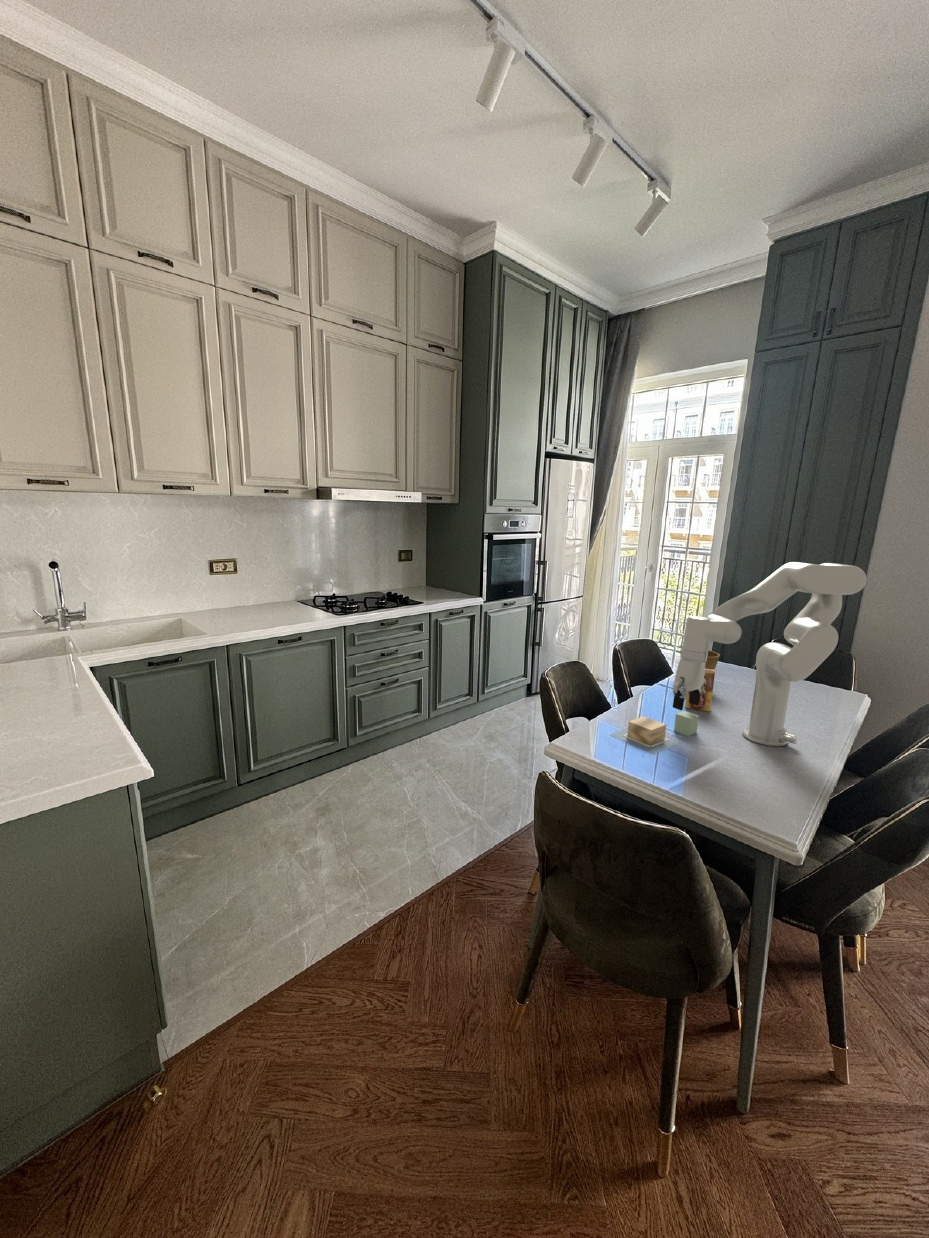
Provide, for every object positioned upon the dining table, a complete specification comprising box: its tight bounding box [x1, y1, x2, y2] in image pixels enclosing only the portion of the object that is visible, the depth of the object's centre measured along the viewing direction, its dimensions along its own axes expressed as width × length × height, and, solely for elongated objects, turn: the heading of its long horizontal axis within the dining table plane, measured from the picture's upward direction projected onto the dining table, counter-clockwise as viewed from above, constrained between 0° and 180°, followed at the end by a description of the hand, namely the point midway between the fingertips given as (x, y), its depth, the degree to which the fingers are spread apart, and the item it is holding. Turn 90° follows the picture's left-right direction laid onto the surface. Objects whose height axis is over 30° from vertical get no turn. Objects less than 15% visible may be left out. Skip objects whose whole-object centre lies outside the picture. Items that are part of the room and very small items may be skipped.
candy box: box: [684, 669, 716, 712], centre depth 189 cm, size 9×4×15 cm, turn 63°
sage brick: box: [673, 710, 700, 737], centre depth 165 cm, size 5×5×7 cm
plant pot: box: [679, 648, 720, 671], centre depth 213 cm, size 15×15×16 cm
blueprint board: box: [609, 727, 684, 755], centre depth 159 cm, size 16×16×1 cm
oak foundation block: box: [627, 716, 667, 746], centre depth 158 cm, size 8×8×5 cm
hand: (685, 706), depth 164 cm, fingers open, 9 cm apart
